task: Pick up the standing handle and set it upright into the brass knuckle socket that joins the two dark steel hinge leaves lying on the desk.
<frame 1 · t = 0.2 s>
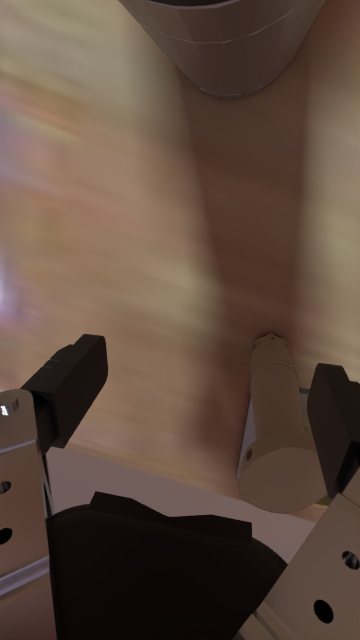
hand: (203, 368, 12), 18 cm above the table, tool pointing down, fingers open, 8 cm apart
handle: (269, 344, 32), on the table
hinge base: (329, 446, 37), on the table
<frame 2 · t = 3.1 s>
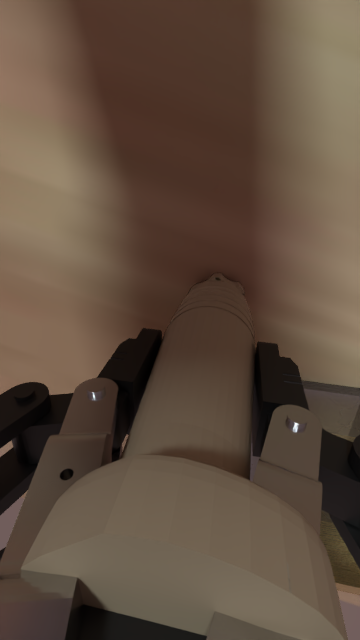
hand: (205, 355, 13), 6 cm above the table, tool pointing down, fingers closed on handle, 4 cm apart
handle: (218, 296, 18), on the table, touching gripper
hinge base: (326, 475, 23), on the table
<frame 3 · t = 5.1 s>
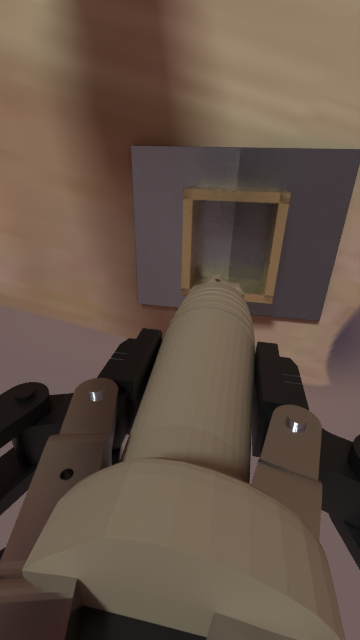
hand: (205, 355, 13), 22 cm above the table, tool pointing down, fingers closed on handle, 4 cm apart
handle: (217, 298, 18), point 15 cm above the table, touching gripper
hinge base: (232, 237, 32), on the table
when the fingers open (8 cm above the table, at t = 7.3 s): handle drops 1 cm, resting on hinge base.
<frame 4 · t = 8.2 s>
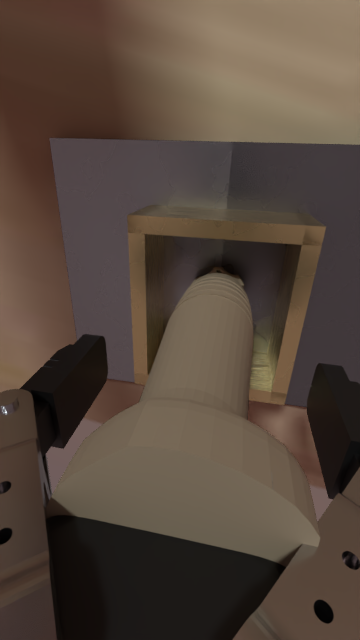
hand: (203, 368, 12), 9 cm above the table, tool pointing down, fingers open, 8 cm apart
handle: (219, 289, 19), point 1 cm above the table, touching hinge base
hinge base: (219, 286, 20), on the table
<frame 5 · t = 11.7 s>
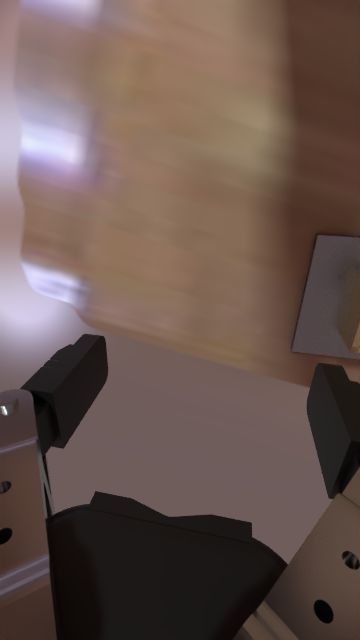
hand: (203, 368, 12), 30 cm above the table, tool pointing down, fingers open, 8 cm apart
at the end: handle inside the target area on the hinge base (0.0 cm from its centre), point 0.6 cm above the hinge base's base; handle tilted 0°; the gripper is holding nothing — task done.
